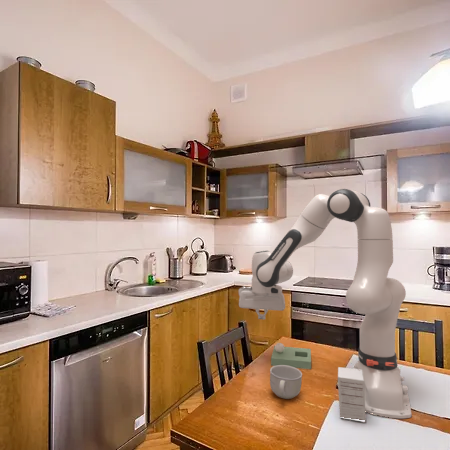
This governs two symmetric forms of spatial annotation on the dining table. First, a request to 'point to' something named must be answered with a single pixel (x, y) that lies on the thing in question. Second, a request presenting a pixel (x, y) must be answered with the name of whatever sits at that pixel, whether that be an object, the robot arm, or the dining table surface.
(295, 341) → the dining table surface
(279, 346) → the ball
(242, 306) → the robot arm
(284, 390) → the teacup
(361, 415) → the supplement box
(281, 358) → the putting deck
